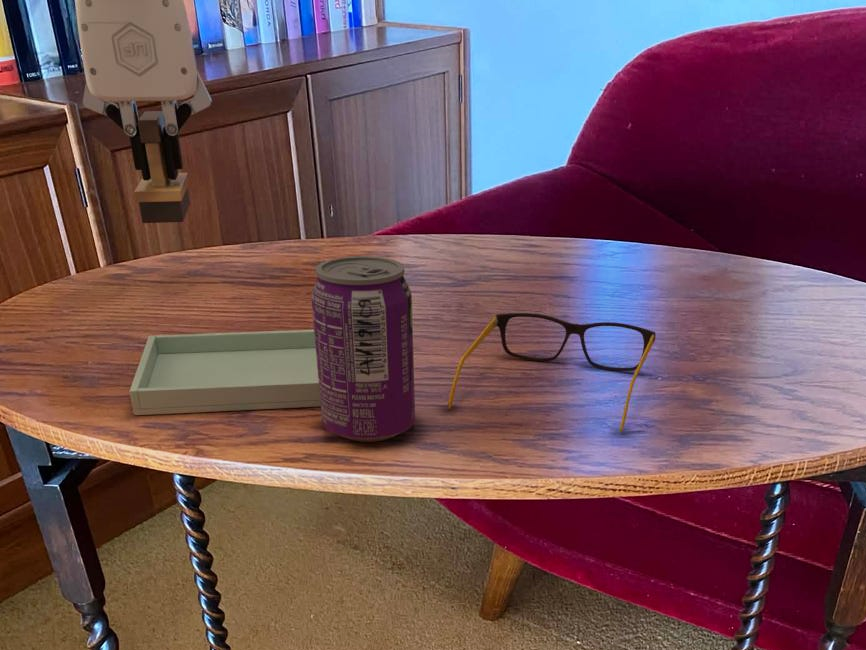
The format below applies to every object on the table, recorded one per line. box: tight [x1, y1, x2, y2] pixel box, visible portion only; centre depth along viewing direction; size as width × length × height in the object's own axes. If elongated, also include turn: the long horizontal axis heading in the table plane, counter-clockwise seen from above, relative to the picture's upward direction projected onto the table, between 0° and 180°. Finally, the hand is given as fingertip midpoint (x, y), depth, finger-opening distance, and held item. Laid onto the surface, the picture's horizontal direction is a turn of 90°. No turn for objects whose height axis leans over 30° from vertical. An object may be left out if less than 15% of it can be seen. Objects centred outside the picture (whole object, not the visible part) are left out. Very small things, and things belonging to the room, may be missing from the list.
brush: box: [133, 110, 191, 224], centre depth 97 cm, size 4×9×9 cm, turn 9°
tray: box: [128, 329, 321, 416], centre depth 81 cm, size 18×13×2 cm
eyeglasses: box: [447, 312, 657, 433], centre depth 80 cm, size 14×14×4 cm
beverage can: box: [310, 255, 416, 443], centre depth 70 cm, size 7×7×12 cm
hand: (160, 176), depth 98 cm, fingers closed on brush
